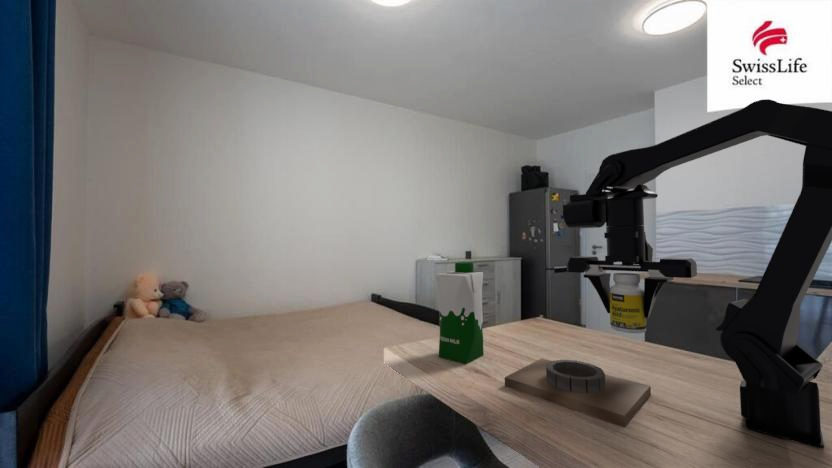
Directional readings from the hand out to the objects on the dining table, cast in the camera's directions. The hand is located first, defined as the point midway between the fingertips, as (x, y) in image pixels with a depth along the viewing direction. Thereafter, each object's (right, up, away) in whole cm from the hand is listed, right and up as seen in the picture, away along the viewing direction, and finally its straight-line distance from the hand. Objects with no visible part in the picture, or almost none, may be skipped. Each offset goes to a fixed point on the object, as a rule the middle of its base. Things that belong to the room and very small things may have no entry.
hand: (627, 315), depth 59 cm
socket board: (-11, -11, -4) cm, 16 cm away
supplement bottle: (0, -3, 0) cm, 3 cm away
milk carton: (-27, -12, +13) cm, 33 cm away
